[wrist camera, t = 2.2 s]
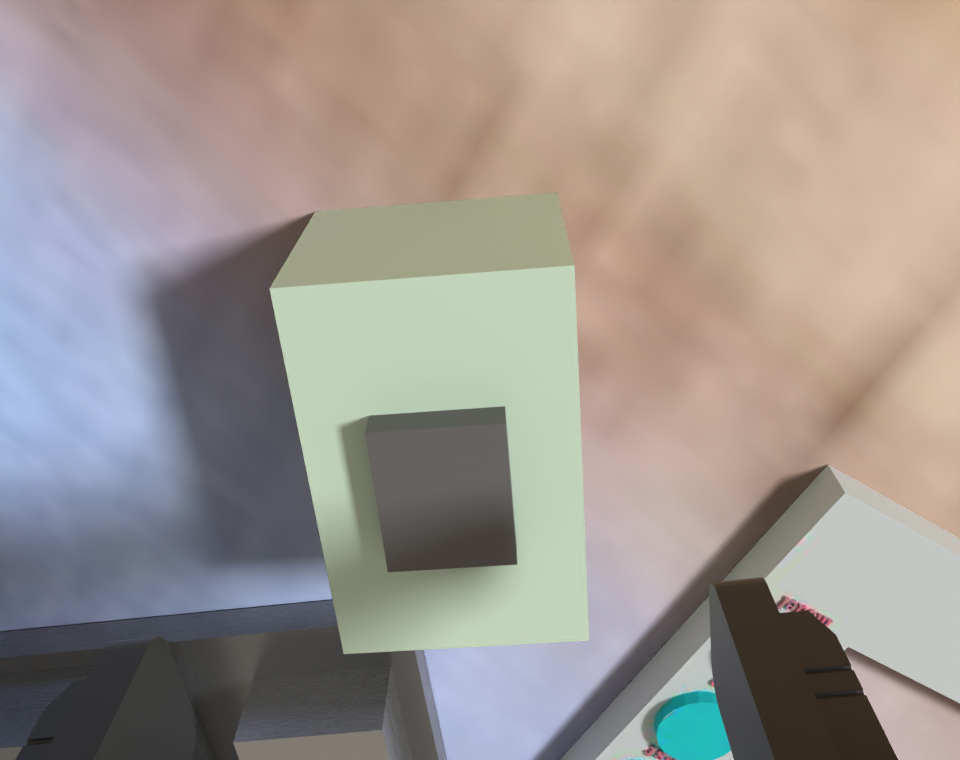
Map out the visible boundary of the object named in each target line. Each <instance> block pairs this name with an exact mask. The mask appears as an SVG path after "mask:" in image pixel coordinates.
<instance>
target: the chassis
mask: <svg viewBox="0 0 960 760" xmlns="http://www.w3.org/2000/svg"><path fill="white" fill-rule="evenodd" d="M158 636H159V637H162V638H164V639H165V640H166V641H167V643H168V644H169V647H170V649H171V652H172V655H173V657H174V660H175V663H176V665H177V668H178V671H179V674H180V676H181V679H182V682H183V684H184V687H185V690H186V692H187V695H188V698H189V701H190V703H191V706H192V709H193V712H194V717H195V724H196V738H195V747H194V751H193V755H192V758H191V760H447V758H446V753H445V749H444V744H443V739H442V735H441V730H440V725H439V721H438V716H437V711H436V707H435V702H434V697H433V693H432V688H431V683H430V679H429V674H428V669H427V665H426V660H425V655H424V650H409V651H391V652H373V653H355V654H344V653H343V648H342V643H341V638H340V634H339V629H338V624H337V619H336V614H335V609H334V604H333V600H328V601H318V602H308V603H297V604H287V605H277V606H266V607H256V608H246V609H235V610H225V611H215V612H204V613H194V614H183V615H173V616H163V617H152V618H142V619H132V620H121V621H111V622H101V623H90V624H80V625H70V626H59V627H49V628H39V629H28V630H18V631H8V632H0V760H15V759H16V757H17V756H18V754H19V752H20V751H21V749H22V747H23V746H26V745H27V738H28V737H29V735H30V733H31V732H32V730H33V728H34V726H35V725H36V723H37V721H38V720H39V718H40V716H41V714H42V713H43V711H44V709H45V708H46V707H47V706H48V705H49V704H50V703H51V702H52V701H53V700H54V699H55V698H56V697H58V696H59V695H60V694H61V693H62V692H63V691H64V690H65V689H66V688H67V687H68V686H69V685H70V684H71V683H72V682H73V681H75V680H85V679H86V678H87V677H88V675H89V673H90V671H91V669H92V667H93V666H94V664H95V662H96V660H97V658H98V657H99V655H100V653H101V651H102V649H103V648H104V646H105V645H106V644H107V643H109V642H111V641H119V640H129V639H138V638H148V637H158Z"/></svg>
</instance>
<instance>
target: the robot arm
mask: <svg viewBox="0 0 960 760" xmlns="http://www.w3.org/2000/svg"><path fill="white" fill-rule="evenodd" d="M709 609H710V638H711V665H712V675H713V682H714V688H715V694H716V699H717V703H718V707H719V711H720V714H721V718H722V721H723V724H724V728H725V731H726V735H727V738H728V741H729V745H730V748H731V752H732V755H733V758H734V760H898V759H897V757H896V755H895V753H894V751H893V749H892V747H891V745H890V743H889V741H888V739H887V737H886V735H885V733H884V731H883V729H882V727H881V725H880V723H879V720H878V718H877V716H876V714H875V712H874V710H873V708H872V706H871V704H870V702H869V700H868V698H867V696H866V695H864V693H863V688H862V686H861V684H860V682H859V680H858V678H857V676H856V674H855V672H854V670H852V669H851V664H850V662H849V660H848V658H847V656H846V654H845V652H844V650H843V648H842V646H841V644H840V642H839V640H838V638H837V636H836V634H835V633H833V632H832V631H831V630H830V629H829V628H828V627H827V626H825V625H824V624H823V623H822V622H821V621H820V620H818V619H817V618H816V617H815V616H814V615H813V614H812V613H810V612H809V611H808V610H805V611H795V612H785V613H779V610H778V608H777V606H776V603H775V601H774V599H773V596H772V594H771V592H770V589H769V587H768V585H767V583H766V581H765V579H764V578H762V577H758V578H748V579H738V580H729V581H719V582H711V583H710V585H709ZM195 738H196V724H195V717H194V712H193V709H192V706H191V703H190V701H189V698H188V695H187V692H186V690H185V687H184V684H183V682H182V679H181V676H180V674H179V671H178V668H177V665H176V663H175V660H174V657H173V655H172V652H171V649H170V647H169V644H168V643H167V641H166V640H165V639H164V638H162V637H159V636H158V637H148V638H138V639H129V640H119V641H111V642H109V643H107V644H106V645H105V646H104V648H103V649H102V651H101V653H100V655H99V657H98V658H97V660H96V662H95V664H94V666H93V667H92V669H91V671H90V673H89V675H88V677H87V678H86V679H85V680H75V681H73V682H72V683H71V684H70V685H69V686H68V687H67V688H66V689H65V690H64V691H63V692H62V693H61V694H60V695H59V696H58V697H56V698H55V699H54V700H53V701H52V702H51V703H50V704H49V705H48V706H47V707H46V708H45V709H44V711H43V713H42V714H41V716H40V718H39V720H38V721H37V723H36V725H35V726H34V728H33V730H32V732H31V733H30V735H29V737H28V738H27V745H26V746H23V747H22V749H21V751H20V752H19V754H18V756H17V757H16V759H15V760H191V758H192V755H193V751H194V747H195Z"/></svg>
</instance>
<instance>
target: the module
mask: <svg viewBox="0 0 960 760" xmlns="http://www.w3.org/2000/svg"><path fill="white" fill-rule="evenodd" d="M269 289H270V294H271V299H272V304H273V309H274V314H275V319H276V323H277V328H278V333H279V338H280V343H281V348H282V353H283V358H284V363H285V368H286V373H287V378H288V383H289V387H290V392H291V397H292V402H293V407H294V412H295V417H296V422H297V427H298V432H299V437H300V442H301V446H302V451H303V456H304V461H305V466H306V471H307V476H308V481H309V486H310V491H311V496H312V501H313V506H314V510H315V515H316V520H317V525H318V530H319V535H320V540H321V545H322V550H323V555H324V560H325V565H326V570H327V574H328V579H329V584H330V589H331V594H332V599H333V604H334V609H335V614H336V619H337V624H338V629H339V634H340V638H341V643H342V648H343V653H344V654H355V653H373V652H391V651H409V650H427V649H445V648H463V647H481V646H499V645H517V644H535V643H553V642H571V641H589V624H588V599H587V573H586V548H585V522H584V497H583V472H582V446H581V421H580V395H579V370H578V345H577V319H576V294H575V269H574V262H573V257H572V253H571V249H570V245H569V240H568V236H567V232H566V228H565V223H564V219H563V215H562V211H561V206H560V202H559V198H558V193H557V192H556V193H543V194H531V195H518V196H506V197H493V198H481V199H468V200H455V201H443V202H430V203H418V204H405V205H393V206H380V207H367V208H355V209H342V210H330V211H317V212H315V213H314V215H313V216H312V218H311V220H310V221H309V223H308V225H307V226H306V228H305V230H304V231H303V233H302V235H301V236H300V238H299V240H298V241H297V243H296V245H295V246H294V248H293V250H292V251H291V253H290V255H289V256H288V258H287V260H286V262H285V263H284V265H283V267H282V268H281V270H280V272H279V273H278V275H277V277H276V278H275V280H274V282H273V283H272V285H271V287H270V288H269Z"/></svg>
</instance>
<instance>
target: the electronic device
mask: <svg viewBox="0 0 960 760" xmlns="http://www.w3.org/2000/svg"><path fill="white" fill-rule="evenodd" d="M758 577H762V578H764V579H765V581H766V583H767V585H768V587H769V589H770V592H771V594H772V596H773V599H774V601H775V603H776V606H777V608H778V610H779V613H785V612H795V611H805V610H808V611H809V612H810V613H812V614H813V615H814V616H815V617H816V618H817V619H818V620H820V621H821V622H822V623H823V624H824V625H825V626H827V627H828V628H829V629H830V630H831V631H832V632H833V633H835V634H836V636H837V638H838V640H839V642H840V644H841V646H842V648H843V650H844V651H845V650H846V649H847V648H848V647H849V648H851V649H853V650H855V651H857V652H859V653H861V654H863V655H865V656H867V657H869V658H871V659H873V660H875V661H877V662H879V663H881V664H883V665H885V666H887V667H889V668H891V669H893V670H895V671H897V672H899V673H901V674H903V675H905V676H907V677H909V678H911V679H913V680H915V681H917V682H919V683H921V684H923V685H925V686H927V687H929V688H930V689H932V690H934V691H936V692H938V693H940V694H942V695H944V696H946V697H948V698H950V699H952V700H954V701H956V702H958V703H960V538H958V537H956V536H954V535H953V534H951V533H949V532H947V531H945V530H944V529H942V528H940V527H938V526H937V525H935V524H933V523H931V522H929V521H928V520H926V519H924V518H922V517H920V516H919V515H917V514H915V513H913V512H912V511H910V510H908V509H906V508H904V507H903V506H901V505H899V504H897V503H896V502H894V501H892V500H890V499H888V498H887V497H885V496H883V495H881V494H880V493H878V492H876V491H874V490H872V489H871V488H869V487H867V486H865V485H864V484H862V483H860V482H858V481H856V480H855V479H853V478H851V477H849V476H848V475H846V474H844V473H842V472H840V471H839V470H837V469H835V468H833V467H832V466H830V465H827V466H826V467H825V468H824V470H823V471H822V472H821V473H820V474H819V475H818V476H817V477H816V478H815V480H814V481H813V482H812V483H811V484H810V485H809V486H808V487H807V488H806V489H805V491H804V492H803V493H802V494H801V495H800V496H799V497H798V498H797V499H796V500H795V502H794V503H793V504H792V505H791V506H790V507H789V508H788V509H787V510H786V511H785V513H784V514H783V515H782V516H781V517H780V518H779V519H778V520H777V521H776V522H775V524H774V525H773V526H772V527H771V528H770V529H769V530H768V531H767V532H766V533H765V535H764V536H763V537H762V538H761V539H760V540H759V541H758V542H757V543H756V544H755V546H754V547H753V548H752V549H751V550H750V551H749V552H748V553H747V554H746V555H745V557H744V558H743V559H742V560H741V561H740V562H739V563H738V564H737V565H736V566H735V568H734V569H733V570H732V571H731V572H730V573H729V574H728V575H727V576H726V578H725V579H724V580H723V581H729V580H738V579H748V578H758ZM732 759H733V755H732V752H731V748H730V745H729V741H728V738H727V735H726V731H725V728H724V724H723V721H722V718H721V714H720V711H719V707H718V703H717V699H716V694H715V688H714V682H713V675H712V665H711V638H710V609H709V596H708V597H707V598H706V600H705V601H704V602H703V603H702V604H701V605H700V606H699V607H698V608H697V609H696V611H695V612H694V613H693V614H692V615H691V616H690V617H689V618H688V619H687V620H686V622H685V623H684V624H683V625H682V626H681V627H680V628H679V629H678V630H677V631H676V633H675V634H674V635H673V636H672V637H671V638H670V639H669V640H668V641H667V642H666V644H665V645H664V646H663V647H662V648H661V649H660V650H659V651H658V652H657V653H656V655H655V656H654V657H653V658H652V659H651V660H650V661H649V662H648V663H647V664H646V666H645V667H644V668H643V669H642V670H641V671H640V672H639V673H638V674H637V675H636V677H635V678H634V679H633V680H632V681H631V682H630V683H629V684H628V685H627V687H626V688H625V689H624V690H623V691H622V692H621V693H620V694H619V695H618V696H617V698H616V699H615V700H614V701H613V702H612V703H611V704H610V705H609V706H608V707H607V709H606V710H605V711H604V712H603V713H602V714H601V715H600V716H599V717H598V718H597V720H596V721H595V722H594V723H593V724H592V725H591V726H590V727H589V728H588V729H587V731H586V732H585V733H584V734H583V735H582V736H581V737H580V738H579V739H578V740H577V742H576V743H575V744H574V745H573V746H572V747H571V748H570V749H569V750H568V751H567V753H566V754H565V755H564V756H563V757H562V758H561V759H560V760H732Z"/></svg>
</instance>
